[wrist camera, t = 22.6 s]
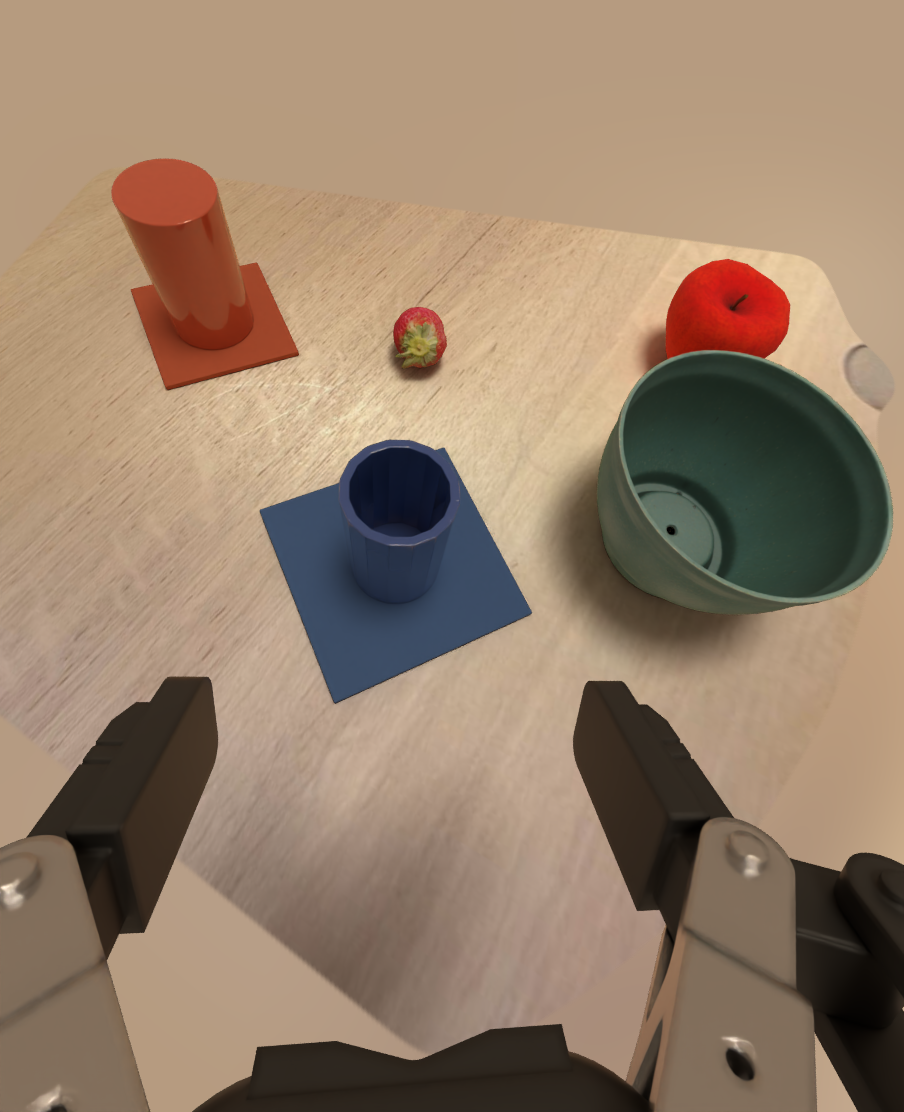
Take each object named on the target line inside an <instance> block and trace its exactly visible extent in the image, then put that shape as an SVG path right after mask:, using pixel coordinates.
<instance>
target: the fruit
mask: <svg viewBox="0 0 904 1112" xmlns="http://www.w3.org/2000/svg"><path fill="white" fill-rule="evenodd" d="M393 336H394V342H395V346H396V348H397V350H398V352H399V353H400V354H398V355H396V356H395V357H403V358H404V359H405V360H404V363H403V365H402V368H408V367H411V366H416V367H419V368H421V367H427V366H430V365H435V364H436V363H437V362H438V360H439V359H440V358H441V357H442V354H443V353H444V351H445V349H446V347H447V343H446V342H447V340H446V336H445V334H444V327H443V324H442V321H441V319H440V318H439V316H438V315H437V314H436V313H435V312H434V311H432V310H429V309H427V308H423V307H415V308H410V309H408V310H406V311H405V312H404V313H402V314H401V315H400V317H399V319H398V320H397V321H396V323H395V325H394V331H393Z"/></svg>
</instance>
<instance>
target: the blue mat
mask: <svg viewBox="0 0 904 1112" xmlns="http://www.w3.org/2000/svg"><path fill="white" fill-rule="evenodd" d="M435 451H436V452H437V453H438V454H440V455H441V456H442V457H443V458H444V459H445V460H447V461H448V462H449V464H450V465H451V467H452V469H453V471H454V473H455V475H456V477H457V479H458V482H459V489H460V505H459V508H458V512H457V515H456V518H455V522H454V525H453V528H452V532H451V535H450V538H449V542H448V545H447V548H446V551H445V555H444V558H443V561H442V565H441V568H440V570H439V573H438V576H437V578H436V581H435V583H434V584H433V586H432V587H431V588H430V589H429V590H428V591H427V592H426V593H425V594H424V595H423V596H421V597H420V598H418V599H416V600H414V601H411V602H408V603H403V604H388V603H383V602H380V601H377V600H375V599H373V598H371V597H370V596H368V595H367V594H366V593H364V592H363V591H362V590H361V589H360V587H359V586H358V585H357V583H356V581H355V579H354V577H353V575H352V571H351V568H350V564H349V558H348V552H347V546H346V540H345V534H344V528H343V522H342V516H341V510H340V503H339V483H338V484H335V485H332V486H329V487H326V488H323V489H320V490H317V491H314V492H311V493H308V494H305V495H302V496H299V497H296V498H293V499H291V500H288V501H285V502H282V503H279V504H276V505H273V506H270V507H267V508H264V509H261V510H260V513H261V516H262V518H263V521H264V523H265V526H266V529H267V531H268V534H269V536H270V539H271V541H272V544H273V547H274V549H275V552H276V554H277V557H278V559H279V562H280V565H281V567H282V570H283V572H284V575H285V577H286V580H287V583H288V585H289V588H290V590H291V593H292V595H293V598H294V601H295V603H296V606H297V608H298V611H299V613H300V616H301V619H302V621H303V624H304V626H305V629H306V631H307V634H308V637H309V639H310V642H311V644H312V647H313V649H314V652H315V655H316V657H317V660H318V662H319V665H320V667H321V670H322V673H323V675H324V678H325V680H326V683H327V685H328V688H329V691H330V693H331V696H332V698H333V701H334V703H337V702H340V701H342V700H344V699H346V698H348V697H351V696H353V695H355V694H357V693H359V692H362V691H364V690H366V689H368V688H370V687H372V686H375V685H377V684H379V683H381V682H383V681H386V680H388V679H390V678H392V677H394V676H397V675H399V674H401V673H403V672H405V671H408V670H410V669H412V668H414V667H416V666H419V665H421V664H423V663H425V662H427V661H429V660H432V659H434V658H436V657H438V656H440V655H443V654H445V653H447V652H449V651H451V650H454V649H456V648H458V647H460V646H462V645H465V644H467V643H469V642H471V641H473V640H476V639H478V638H480V637H482V636H484V635H487V634H489V633H491V632H493V631H495V630H497V629H500V628H502V627H504V626H506V625H508V624H511V623H513V622H515V621H517V620H519V619H522V618H524V617H526V616H528V615H530V614H531V613H532V612H531V610H530V608H529V606H528V604H527V602H526V600H525V598H524V596H523V595H522V593H521V591H520V589H519V587H518V585H517V583H516V581H515V580H514V578H513V576H512V574H511V572H510V570H509V568H508V566H507V564H506V563H505V561H504V559H503V557H502V555H501V553H500V551H499V549H498V548H497V546H496V544H495V542H494V540H493V538H492V536H491V534H490V532H489V531H488V529H487V527H486V525H485V523H484V521H483V519H482V517H481V516H480V514H479V512H478V510H477V508H476V506H475V504H474V502H473V501H472V499H471V497H470V495H469V493H468V491H467V489H466V487H465V485H464V484H463V482H462V480H461V478H460V476H459V474H458V472H457V470H456V469H455V467H454V465H453V463H452V461H451V459H450V457H449V455H448V453H447V452H446V450H445V448H441V449H438V450H435Z"/></svg>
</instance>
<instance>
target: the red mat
mask: <svg viewBox="0 0 904 1112" xmlns="http://www.w3.org/2000/svg"><path fill="white" fill-rule="evenodd" d="M240 269H241V273H242V276H243V279H244V283H245V286H246V290H247V293H248V297H249V300H250V304H251V307H252V311H253V315H254V323H253V327H252V330H251V331H250V333H249V334H248V336H247V337H246V338H245V339H244V340H242V341H241V342H239V343H238V344H236V345H234V346H231V347H228V348H224V349H218V350H206V349H200V348H197V347H194V346H191V345H189V344H188V343H186V342H184V341H183V340H182V339H181V338H180V337H179V336H178V335H177V333H176V332H175V330H174V328H173V326H172V323H171V321H170V319H169V317H168V315H167V313H166V311H165V309H164V307H163V305H162V303H161V301H160V298H159V296H158V294H157V292H156V290H155V288H154V286H153V285H149V286H144V287H139V288H134V289H131V292H132V295H133V298H134V300H135V303H136V306H137V309H138V312H139V315H140V317H141V320H142V323H143V326H144V329H145V331H146V334H147V337H148V340H149V343H150V345H151V348H152V351H153V354H154V357H155V359H156V362H157V365H158V368H159V371H160V373H161V376H162V379H163V382H164V385H165V387H166V389H167V390H169V389H173V388H177V387H180V386H184V385H188V384H192V383H196V382H199V381H203V380H207V379H211V378H214V377H218V376H222V375H226V374H229V373H233V372H237V371H241V370H244V369H248V368H252V367H256V366H259V365H263V364H267V363H271V362H275V361H278V360H282V359H286V358H290V357H293V356H297V355H299V353H298V350H297V348H296V345H295V343H294V341H293V339H292V337H291V335H290V333H289V330H288V328H287V326H286V324H285V322H284V320H283V317H282V315H281V313H280V311H279V309H278V307H277V304H276V302H275V300H274V298H273V296H272V294H271V291H270V289H269V287H268V285H267V283H266V281H265V278H264V276H263V274H262V272H261V270H260V268H259V265H258V263H252V264H247V265H243V266H240Z"/></svg>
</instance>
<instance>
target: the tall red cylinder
mask: <svg viewBox="0 0 904 1112" xmlns="http://www.w3.org/2000/svg"><path fill="white" fill-rule="evenodd" d="M111 193H112V200H113V203H114V205H115V207H116V209H117V211H118V213H119V215H120V217H121V219H122V221H123V223H124V225H125V228H126V230H127V232H128V234H129V236H130V238H131V240H132V242H133V244H134V246H135V248H136V250H137V253H138V255H139V257H140V259H141V261H142V263H143V265H144V267H145V269H146V271H147V273H148V276H149V278H150V280H151V282H152V284H153V286H154V288H155V290H156V292H157V294H158V296H159V298H160V301H161V303H162V305H163V307H164V309H165V311H166V313H167V315H168V317H169V319H170V321H171V323H172V326H173V328H174V330H175V332H176V333H177V335H178V336H179V337H180V338H181V339H182V340H183V341H184V342H186V343H188V344H189V345H191V346H194V347H197V348H200V349H206V350H218V349H224V348H228V347H231V346H234V345H236V344H238V343H239V342H241V341H242V340H244V339H245V338H246V337H247V336H248V334H249V333H250V331H251V330H252V327H253V323H254V315H253V311H252V307H251V304H250V300H249V297H248V293H247V290H246V286H245V283H244V279H243V276H242V273H241V269H240V266H239V262H238V259H237V255H236V252H235V248H234V245H233V241H232V238H231V234H230V231H229V227H228V224H227V220H226V217H225V213H224V210H223V206H222V203H221V199H220V196H219V192H218V189H217V186H216V183H215V181H214V180H213V178H212V177H211V176H210V175H209V174H208V173H207V172H206V171H205V170H203V169H202V168H200V167H198V166H197V165H194V164H192V163H189V162H185V161H181V160H176V159H153V160H147V161H143V162H140V163H137V164H134V165H132V166H130V167H128V168H127V169H125V170H124V171H123V172H122V173H120V174H119V176H118V177H117V178H116V179H115V181H114V183H113V186H112V190H111Z"/></svg>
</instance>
